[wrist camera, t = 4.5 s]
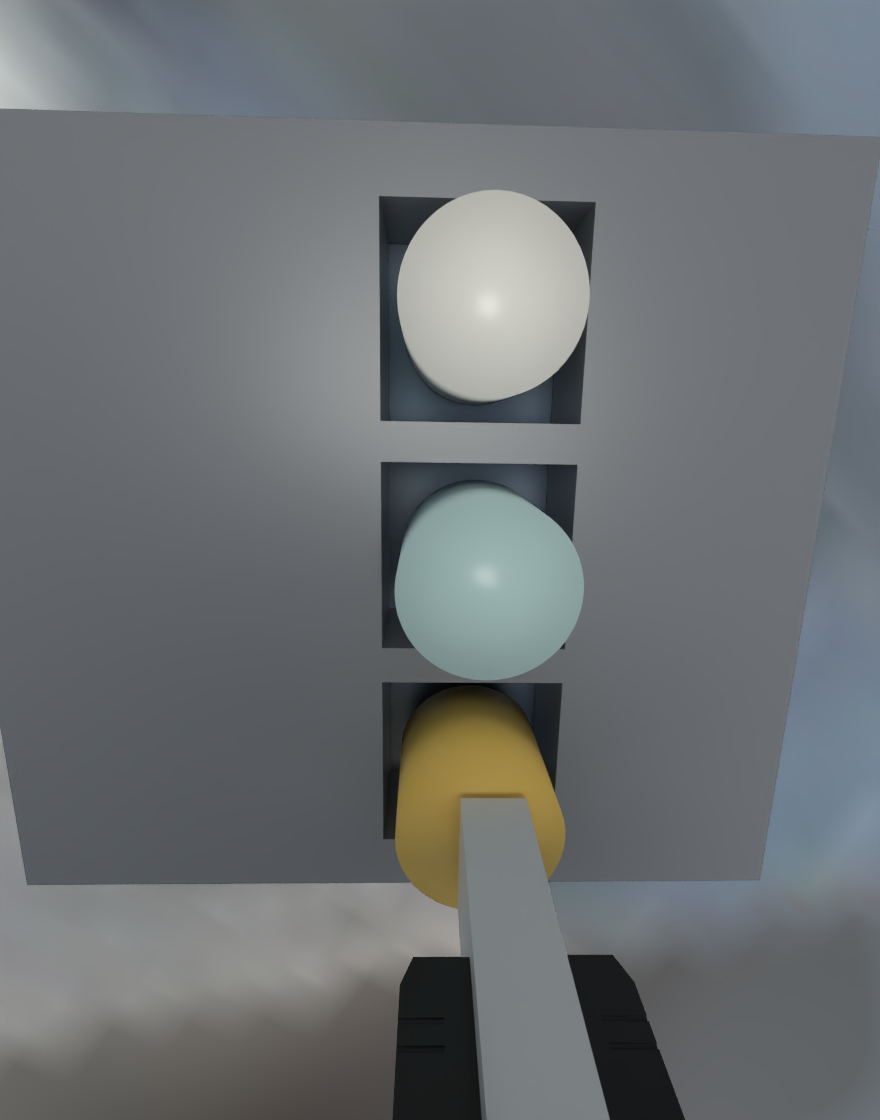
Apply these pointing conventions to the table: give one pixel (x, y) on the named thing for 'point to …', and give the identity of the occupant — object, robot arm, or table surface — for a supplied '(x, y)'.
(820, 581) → the table surface
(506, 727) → the amber button
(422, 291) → the ivory button
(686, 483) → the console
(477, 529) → the teal button
